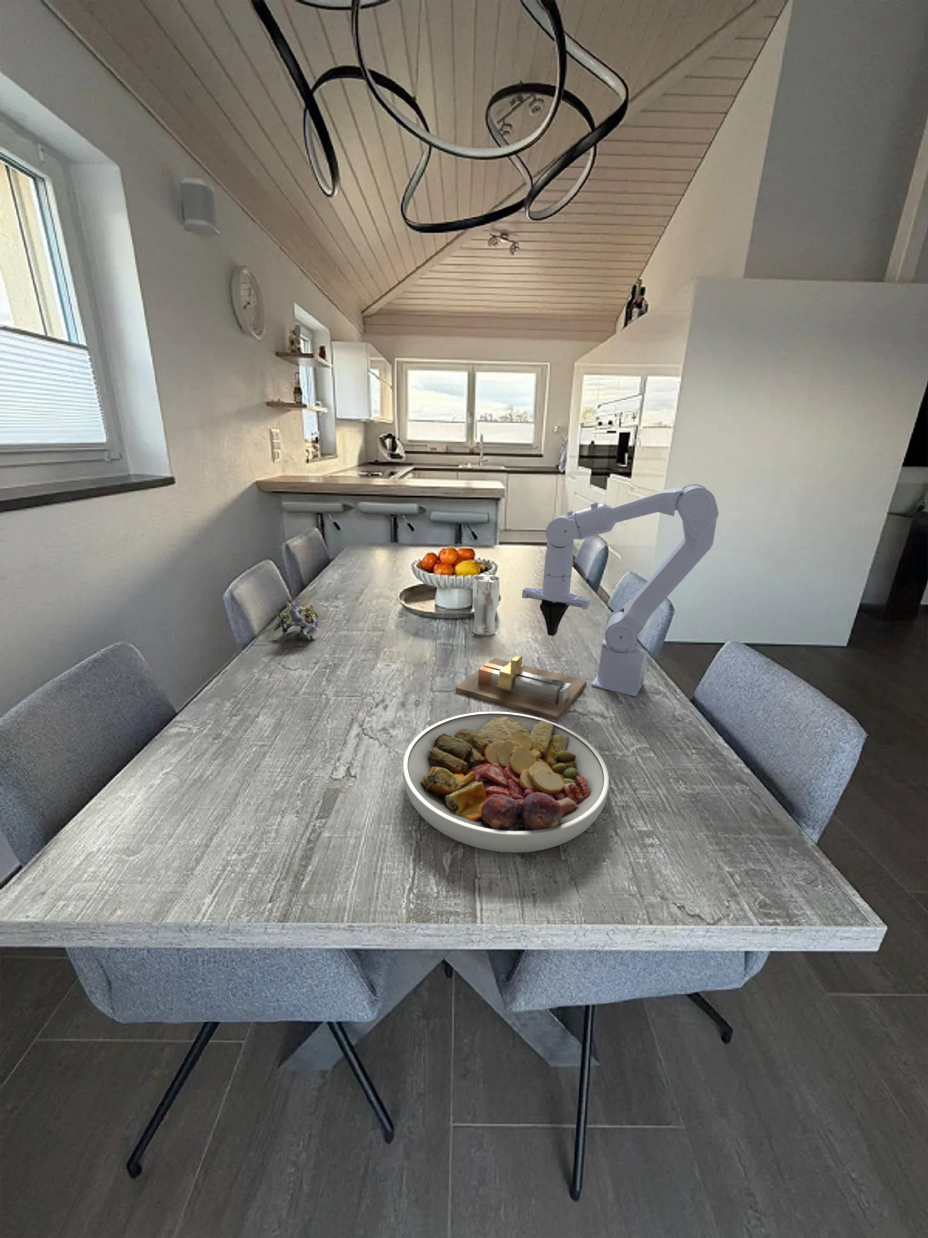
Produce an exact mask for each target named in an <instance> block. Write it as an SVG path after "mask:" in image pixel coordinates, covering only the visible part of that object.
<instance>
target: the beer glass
mask: <svg viewBox="0 0 928 1238" xmlns="http://www.w3.org/2000/svg"><path fill="white" fill-rule="evenodd" d="M472 584H473V586H472V606H473V610H474V623H473V628H472V632H473V634H475V635H476V636H480V637H482V636H483V637H489V636H494V635H495V634H496V626H495V625H496V624H495V621H496V613H497V609H498V606H499V601H500V577H498V576H496V575H491V574H480V575H475V576H474V577H473V583H472Z"/></svg>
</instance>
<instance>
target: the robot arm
mask: <svg viewBox="0 0 928 1238" xmlns="http://www.w3.org/2000/svg"><path fill="white" fill-rule="evenodd" d="M718 509H719V508H718V504H717V501H716V497H715V495H714V494H713V493H712V492H711V491H710V490H708V489H707V488H706V487H705V486H703V485H701V484H698V483H690V484H687V485H684V486H683V487H681V486H677V487H672V488H667V489H663V490H658V491H656V492H653V493H650V494H647V495H645V496H642V497H641V496H640V497H638V498H636V499H633V500H629V501H626V502H624V503H620V504H617V505H615V506H610V505H608V504H607V503H604V502H602V503H598V502H597V501H596V502H592V503H590V506H589V507H586V508H583V509H580V510H576V511H573V510H569V511H567V512H566V513H567V514H562V515H561V514H560V515H558V516H556V517H554V518H553V519H552V520H551V521H550V522H549V523H548V524H547V526H546V530H545V537H546V539H547V541H546V542H547V543H546V551H545V556H544V565H543V566H544V569H543V578H542V579H543V580H542V581H543V582H542V588H533V587H532V588H531V587H525V588H523V589H522V591H521V592H522V593H521V599H531V600H537V601H541V604H539V609H540V612H541V614H542V616H543V618H544V621H545V625H546V632H547V636H551V637H555V636H556V635H557V632H558V629H559V625H560V624H561V620H562V619H563V617H564V615H565V614H566V612H567V610H568V608H569V607H576V608H581V609H583V610H587V611H588V609H589V608H590V605H591V598H589V597H585V596H580V595H577V594H574V593H571V583H572V574H573V573H572V572H573V563H574V561H573V560H574V540H580V541H581V540H584V539H588V538H591V537H595V536H597V535H603V534H605V533H609V532H611V531H612V529H613V528H614V527H615V525H616V524H617V523H620V522H624V521H627V520H632V519H635V518H640V517H644V516H648V515H652V514H656V513H658V514H659V513H660V514H663V515H667V516H670V517H671V516H672V517H675V513H676V512H675V511H677V513H678V514H679V516H680V518H681V521H682V529H683V535H684V536H683V540H682V541H681V542H680V543H679V544H678V545H677V547H676V548H675V549H674V550H673V551H672V552H671V554H670V555H669V556H667V558H666V559H665V560H664V562H663V563H662V564H661V565H660V567H658V569H656V571H655V573H653V574H652V575H651V576H650V578H649V579H648V580H646V582H645V584H644V585H642V587H641V588H640V589H639V591H638V592H637V593H636V594H635V595H634V596H633V598H632V599H631V600H628V601H627V602H626V603H625V604H624V605H623V606H622V607H621V608H620V609H617V610H615V611H613V612H612V613H611V614H610V615H609V616H608V618H607V622H606V623H607V624H606V630H605V632H604V638H603V639H602V640H601V648H600V656H599V666H598V672H597V676H596V677H595V678H594V679H593V680H592V682H591V684H590V685H591V686H592V687H597V688H599V689H600V688H601V689H603V690H604V689H605V690H608V691H611V692H615V693H619V694H623V695H626V696H627V695H628V696H632V697H637V695H638V694H639V692H640V690H641V688H642V687H641V686H643V685H644V682H645V681H644V680H645V674H646V669H647V668H646V667H647V660H648V651H646V650H643V649H641V648H639V647H638V643H637V641H638V636H639V634H640V633H641V631H643V630H644V627H645V626H646V624H647V622H648V620H649V619H650V617H651V616H652V615H653V614H654V612H655V611H656V610H657V609H658V608H659V607H660V605H661V604H662V603H663V602H664V601H665V600H666V599H667V597H668V596H669V595H670V594H671V593H672V592H674V590H675V589H676V587H678V586H679V584H680V583H681V582H682V581H683V580H684V579H685V578H686V577H687V575H689V573H690V572H691V571H692V570H693V569H694V567H696V565H697V564H698V563H699V562H700V561H701V560H702V558H703V557H704V556H705V555H707V554H708V552H709V551H710V550H711V548H712V547H713V545H714V540H715V533H716V528H717V527H716V526H717V519H718V516H719V515H720V514H719V510H718Z"/></svg>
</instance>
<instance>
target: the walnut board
mask: <svg viewBox="0 0 928 1238" xmlns="http://www.w3.org/2000/svg"><path fill="white" fill-rule="evenodd" d="M510 662H511V661H509V660H505V659H500V658H498V657H497V658H496V657H493V658H492V659H491V660H490V661H488V662H487V663H491V664H495V665H499V666H502V667H505V666H506V665H507V664H509V663H510ZM522 665H523V670H521V671H522V672H526V673H530V674H534V675H538V676H542V677H545V678H549V679H553V680H561V681H563V682H564V685H565V684H566V683H571V687H570V695H569V699H568V700H567V701H566V702H565V704H564V705H563V706H558V702H559V699H558V702H557V703H556V704H551V703H547V702H544V701H540V700H537V699H533V698H530V697H526V696H522V695H519V694H515V693H512V692H508V691H505V690H501V689H497V688H494V687H490V686H487V685H483V684H479V683H478V675H479V669H477V671H475V672H473V673H472V674H471V675H470V676H468V677H467V678H466V679H464V680H463V681H462V682H460V683H459V684H458V685H456V686H455V693H459V694H463V695H466V696H469V697H473V698H476V699H480V700H483V701H486V702H490V703H492V704H493V703H494V704H496V705H499V706H504V707H507V708H510V709H513V710H517V711H520V712H524V713H527V714H529V715H532V716H536V717H539V718H543V719H546V720H549V721H550V720H551V721H554V722H558V721H559V720H560V719H561V718H562V715H563V714H564V713H565V712H566V711H567V710H568V708H569V707H570V706H571V705H572V703H573V702H574V701H575V700H576V698H577V697H578V696H579V694H581V692H582V691H583V690H584V688H585V687H587V680H585V679H581V678H577V677H572V676H568V675H566V674H565V675H564V674H560V673H557V672H553V671H549V670H545V669H540V668H537V667H533V666H530V665H529V666H528V665H524V664H522ZM483 667H484V665H483ZM564 685H563V686H564Z"/></svg>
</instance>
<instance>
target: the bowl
mask: <svg viewBox="0 0 928 1238" xmlns="http://www.w3.org/2000/svg"><path fill="white" fill-rule="evenodd" d="M609 775H610V774H609V771H608V768H607V766H606V763H605V761H604V759H603V757H602V756H601V754H600V753H599V752H598V751H597V749H595V747H594V746H593V745H592V744H590V743H589V742H588V741H587V740H586V739H584V737H582V736H580V735H579V734H578V733H576V732H574V731H572V730H571V729H569V728H567V727H565V726H563V725H561V724H558V723H556V722H553V721H552V720H551V721H550V720H549V719H546V718H543V717H539V716H535V715H531V714H525V713H524V714H523V713H517V712H510V711H509V712H507V711H479V712H477V711H476V712H469V713H463V714H459V715H455V716H452V717H448V718H445V719H443V720H440V721H438V722H435V723H434V724H432V725H430V726H428V727H426V728H425V729H424V730H423V731H421V732H419V734H417V735H416V736H415V737H414V738H413V739H412V741H411V742H410V744H409V745H408V747H407V748H406V750H405V752H404V755H403V760H402V780H403V785H404V789H405V791H406V795H407V796H408V799H409V801H410V802H411V804H412V805H413V807H414V809H415V810H416V811H417V812H418V814H420V816H421V818H423V819H424V820H426V822H427V823H428V824H430V825H431V826H432V827H433V828H435V829H436V830H438V832H440V833H441V834H443V835H445V836H447V837H449V838H450V839H453V840H455V841H458V842H460V843H462V844H464V845H467V846H470V847H474V848H478V849H482V850H485V851H491V852H492V851H493V852H499V853H530V852H537V851H538V852H539V851H542V850H547V849H551V848H553V847H557V846H560V845H562V844H565V843H567V842H569V841H571V840H573V839H574V838H576V837H579V836H580V835H581V834H582V833H583V832H585V831H586V830H587V829H588V828H589V827H590V826H592V824H593V823H594V822H595V821H596V820H597V818H598V817H599V815H600V814H601V812H602V811H603V809H604V806H605V804H606V802H607V798H608V794H609V789H610V788H609V787H610V776H609Z"/></svg>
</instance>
